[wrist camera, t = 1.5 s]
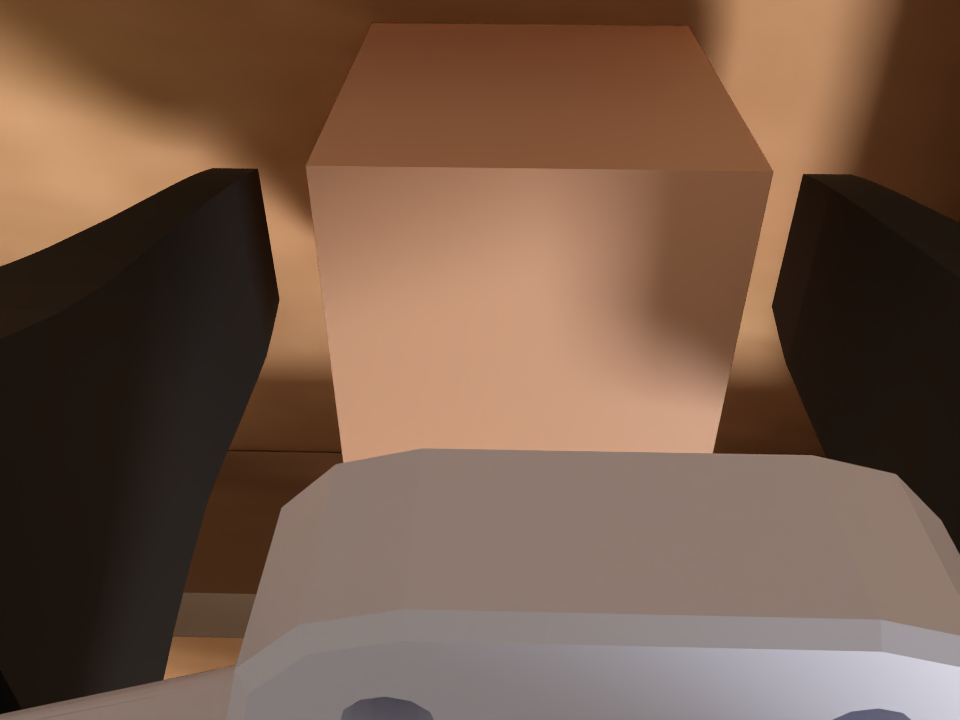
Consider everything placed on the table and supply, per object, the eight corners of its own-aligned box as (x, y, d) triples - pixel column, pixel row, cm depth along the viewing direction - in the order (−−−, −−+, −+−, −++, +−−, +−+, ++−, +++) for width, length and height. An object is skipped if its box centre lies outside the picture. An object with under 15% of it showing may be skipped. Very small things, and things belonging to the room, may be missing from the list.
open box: (916, 506, 18) (993, 654, 15) (225, 493, 18) (173, 636, 15) (1319, -455, 9) (1682, -536, 6) (-4, -446, 9) (-222, -518, 7)
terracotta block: (650, 293, 15) (701, 503, 11) (391, 290, 15) (347, 496, 11) (688, 24, 12) (773, 170, 8) (371, 21, 12) (305, 166, 8)
